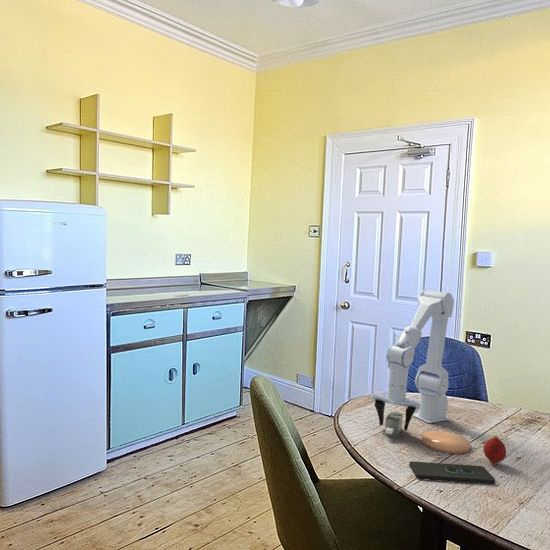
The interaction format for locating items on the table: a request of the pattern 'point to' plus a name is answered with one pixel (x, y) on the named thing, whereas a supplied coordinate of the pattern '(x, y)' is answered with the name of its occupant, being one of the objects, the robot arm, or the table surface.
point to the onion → (494, 450)
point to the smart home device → (451, 472)
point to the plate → (446, 442)
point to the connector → (393, 424)
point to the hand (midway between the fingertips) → (393, 426)
